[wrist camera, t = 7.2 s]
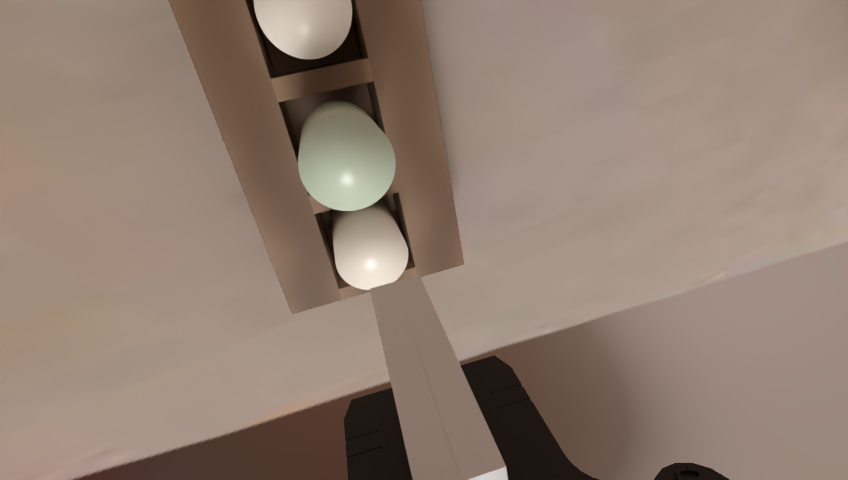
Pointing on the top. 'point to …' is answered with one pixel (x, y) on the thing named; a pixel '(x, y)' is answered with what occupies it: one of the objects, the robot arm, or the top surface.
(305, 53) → the white egg
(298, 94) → the socket block
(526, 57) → the top surface
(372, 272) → the cream egg
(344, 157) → the pale green egg
